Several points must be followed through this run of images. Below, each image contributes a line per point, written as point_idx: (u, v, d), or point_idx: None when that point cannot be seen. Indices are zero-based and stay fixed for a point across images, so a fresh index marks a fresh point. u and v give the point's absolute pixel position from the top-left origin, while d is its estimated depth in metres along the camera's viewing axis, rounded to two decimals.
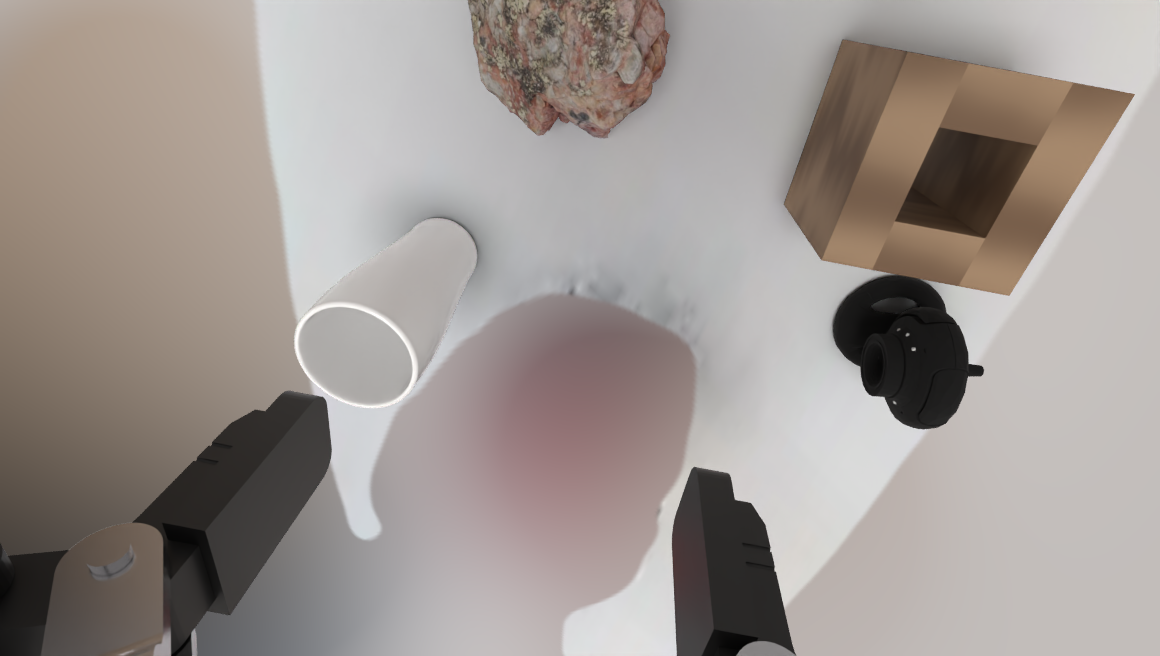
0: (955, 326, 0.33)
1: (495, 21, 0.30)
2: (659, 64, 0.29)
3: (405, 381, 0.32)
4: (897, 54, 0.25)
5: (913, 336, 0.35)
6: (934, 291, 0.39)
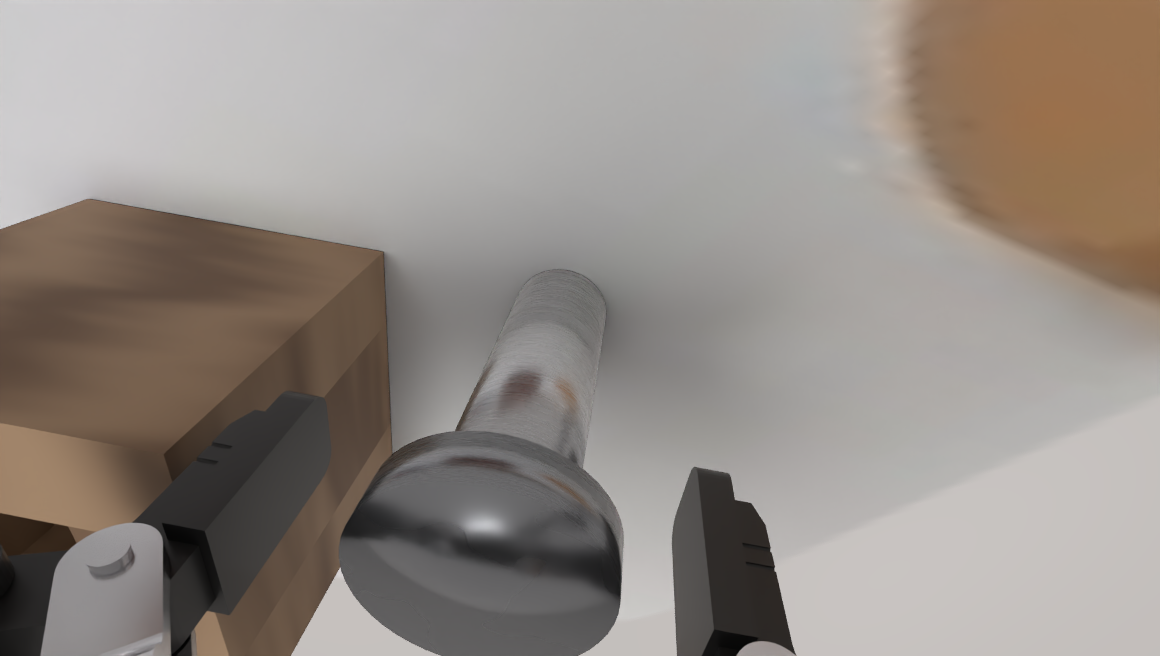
0: None
1: None
2: None
3: None
4: (194, 417, 0.11)
5: None
6: None
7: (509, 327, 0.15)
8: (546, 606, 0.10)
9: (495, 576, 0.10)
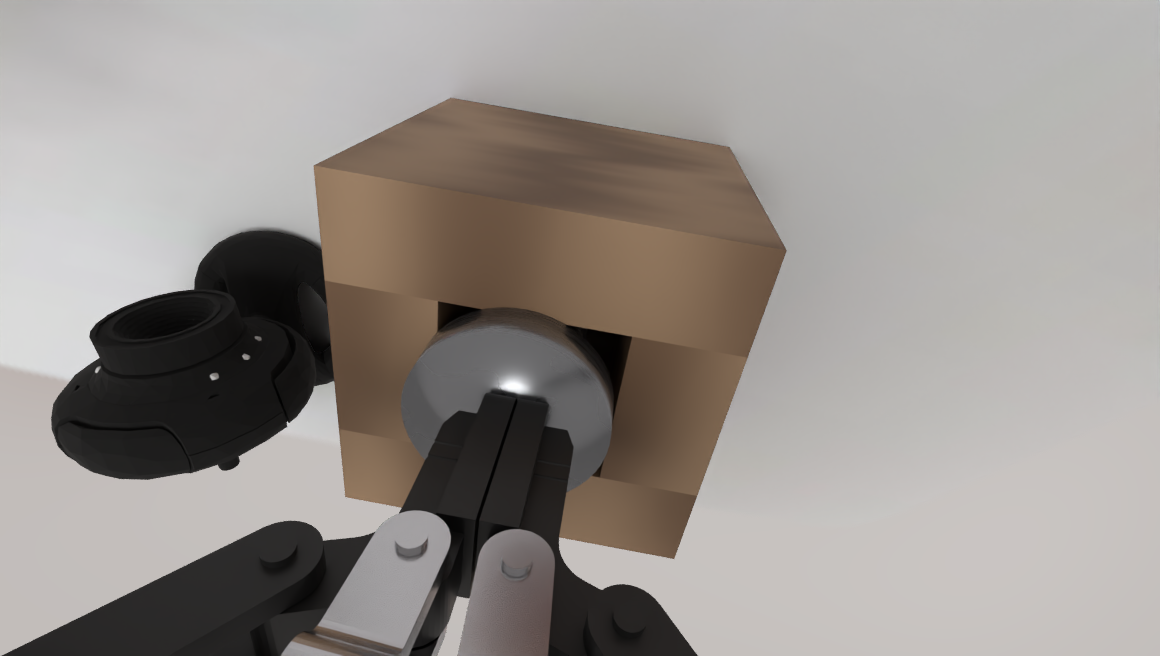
0: (281, 424, 0.19)
1: None
2: None
3: None
4: (770, 232, 0.12)
5: (243, 366, 0.19)
6: None
7: None
8: None
9: None
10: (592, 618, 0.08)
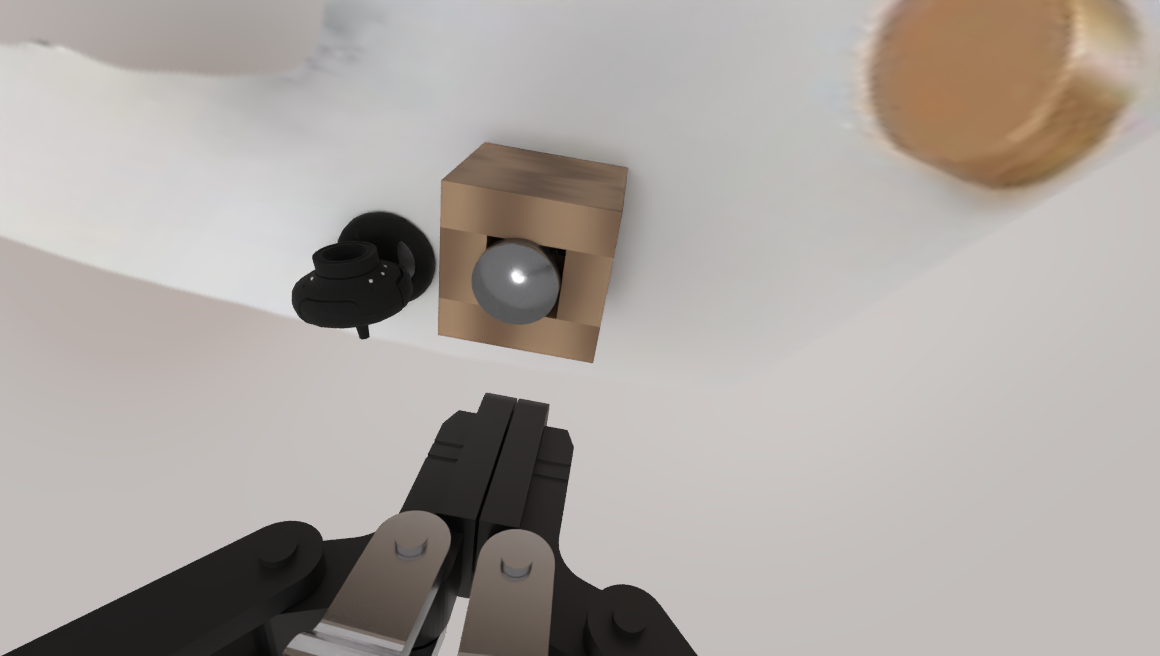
0: (400, 307, 0.38)
1: None
2: None
3: None
4: (620, 206, 0.31)
5: (382, 278, 0.38)
6: (426, 287, 0.44)
7: None
8: (535, 293, 0.32)
9: (519, 281, 0.32)
10: (592, 618, 0.08)
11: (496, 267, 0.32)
